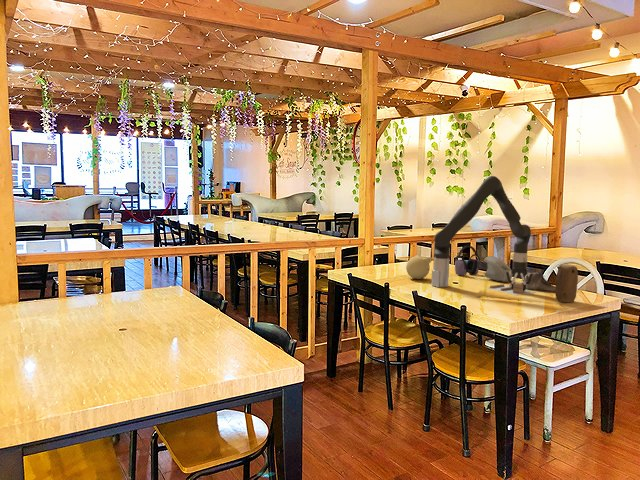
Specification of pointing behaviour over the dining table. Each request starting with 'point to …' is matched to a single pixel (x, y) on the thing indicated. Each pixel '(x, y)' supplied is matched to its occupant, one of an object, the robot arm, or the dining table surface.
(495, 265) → the decorative stone
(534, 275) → the shoe
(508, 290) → the panel
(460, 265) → the headphones
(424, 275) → the toy
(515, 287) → the reddish brown block
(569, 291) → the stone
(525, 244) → the robot arm
